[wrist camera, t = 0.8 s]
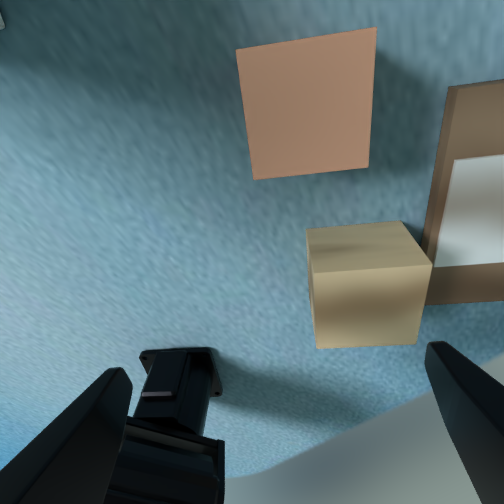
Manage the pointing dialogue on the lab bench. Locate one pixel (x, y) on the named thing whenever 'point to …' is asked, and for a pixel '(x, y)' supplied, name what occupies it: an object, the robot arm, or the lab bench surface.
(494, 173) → the board
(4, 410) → the lab bench surface
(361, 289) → the oak block
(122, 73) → the lab bench surface
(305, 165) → the terracotta block
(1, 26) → the supplement box
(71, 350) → the lab bench surface
